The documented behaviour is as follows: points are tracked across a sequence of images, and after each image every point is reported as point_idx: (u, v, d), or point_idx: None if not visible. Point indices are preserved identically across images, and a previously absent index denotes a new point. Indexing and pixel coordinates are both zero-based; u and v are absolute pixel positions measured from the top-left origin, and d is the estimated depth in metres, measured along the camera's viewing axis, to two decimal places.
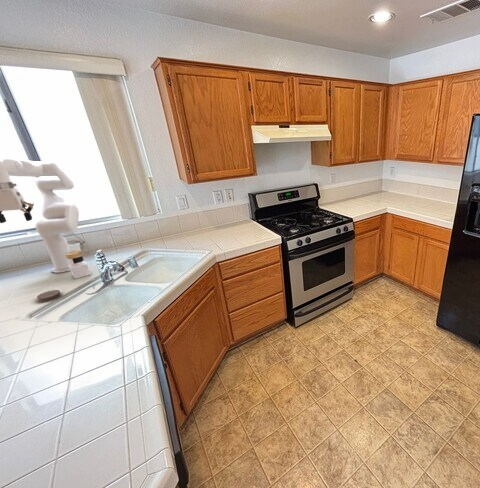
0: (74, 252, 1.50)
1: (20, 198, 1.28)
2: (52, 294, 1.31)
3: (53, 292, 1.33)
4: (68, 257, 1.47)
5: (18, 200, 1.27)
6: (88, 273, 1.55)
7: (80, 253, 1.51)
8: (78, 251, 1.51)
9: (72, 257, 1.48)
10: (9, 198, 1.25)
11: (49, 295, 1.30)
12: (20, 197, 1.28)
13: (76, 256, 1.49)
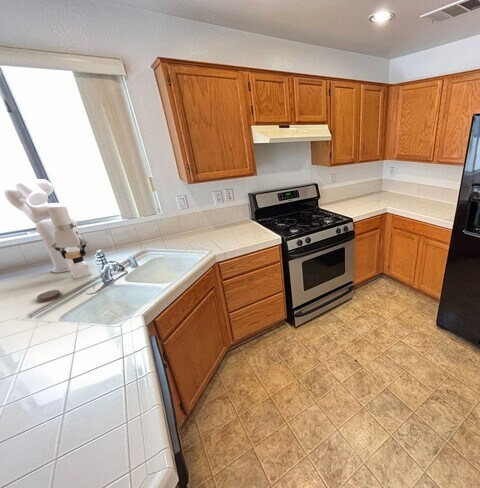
0: (74, 252, 1.50)
1: (78, 236, 1.49)
2: (52, 294, 1.31)
3: (53, 292, 1.33)
4: (68, 257, 1.47)
5: (77, 238, 1.47)
6: (88, 273, 1.55)
7: (80, 253, 1.51)
8: (78, 251, 1.51)
9: (72, 257, 1.48)
10: (70, 237, 1.46)
11: (49, 295, 1.30)
12: (78, 235, 1.49)
13: (76, 256, 1.49)
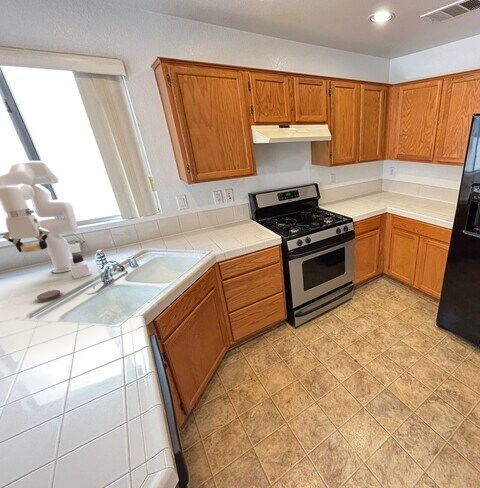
0: (32, 244, 1.24)
1: (37, 225, 1.23)
2: (52, 294, 1.31)
3: (53, 292, 1.33)
4: (24, 250, 1.21)
5: (35, 227, 1.22)
6: (88, 273, 1.55)
7: None
8: (37, 243, 1.25)
9: (29, 250, 1.22)
10: (26, 225, 1.20)
11: (49, 295, 1.30)
12: (37, 224, 1.23)
13: (34, 249, 1.23)
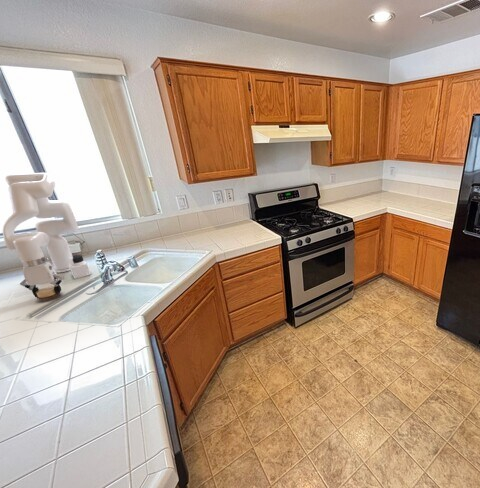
0: (47, 289, 1.30)
1: (52, 271, 1.29)
2: None
3: None
4: (40, 296, 1.28)
5: (50, 274, 1.28)
6: (88, 273, 1.55)
7: (54, 290, 1.31)
8: (52, 288, 1.31)
9: (45, 295, 1.28)
10: (42, 272, 1.26)
11: None
12: (52, 270, 1.29)
13: (49, 294, 1.29)
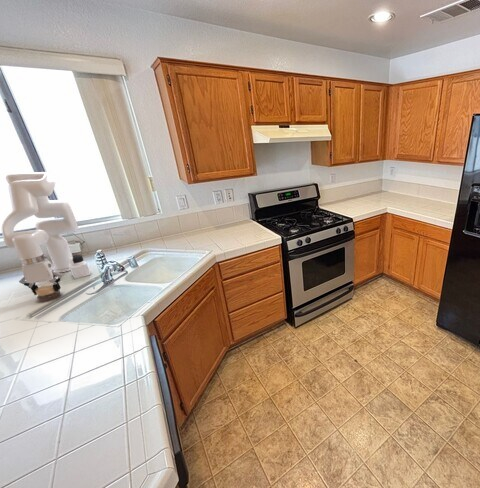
0: (47, 287, 1.30)
1: (51, 269, 1.29)
2: (52, 294, 1.31)
3: (53, 292, 1.33)
4: (39, 293, 1.27)
5: (49, 272, 1.27)
6: (88, 273, 1.55)
7: None
8: (51, 286, 1.31)
9: (44, 293, 1.28)
10: (41, 270, 1.26)
11: (49, 295, 1.30)
12: (51, 268, 1.29)
13: (49, 292, 1.29)
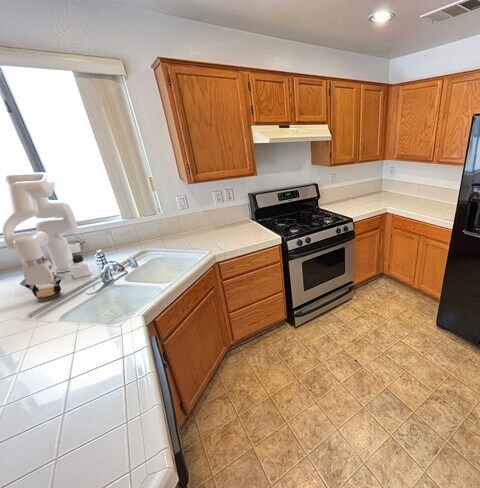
0: (47, 289, 1.30)
1: (52, 271, 1.29)
2: None
3: None
4: (40, 295, 1.27)
5: (50, 273, 1.28)
6: (88, 273, 1.55)
7: (54, 290, 1.31)
8: (52, 288, 1.31)
9: (44, 295, 1.28)
10: (42, 272, 1.26)
11: None
12: (52, 270, 1.29)
13: (49, 294, 1.29)
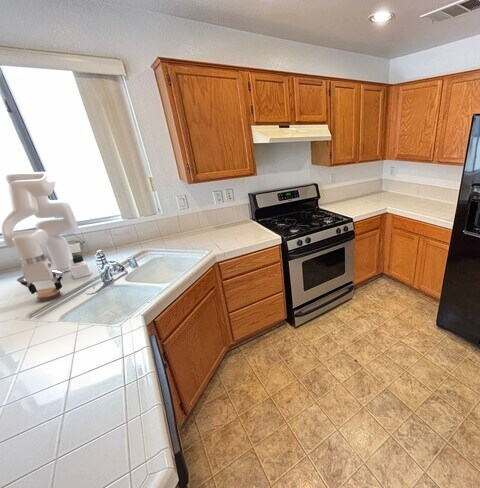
0: (47, 289, 1.30)
1: (51, 269, 1.29)
2: None
3: None
4: (40, 296, 1.28)
5: (49, 271, 1.27)
6: (88, 273, 1.55)
7: (54, 290, 1.31)
8: (52, 288, 1.31)
9: (45, 296, 1.28)
10: (41, 270, 1.25)
11: None
12: (51, 268, 1.29)
13: (49, 294, 1.29)
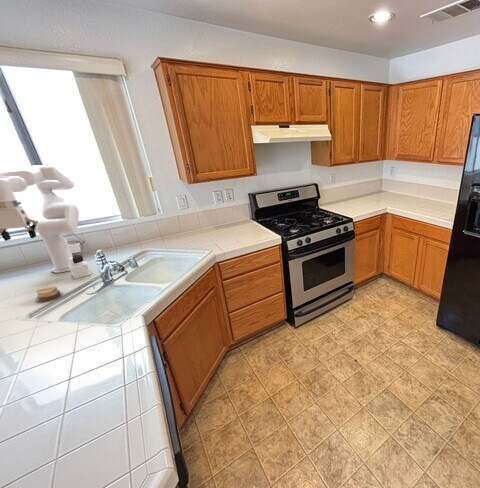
0: (47, 289, 1.30)
1: (24, 216, 1.29)
2: None
3: None
4: (40, 296, 1.28)
5: (22, 218, 1.28)
6: (88, 273, 1.55)
7: (54, 290, 1.31)
8: (52, 288, 1.31)
9: (45, 296, 1.28)
10: (14, 216, 1.26)
11: None
12: (24, 215, 1.29)
13: (49, 294, 1.29)
